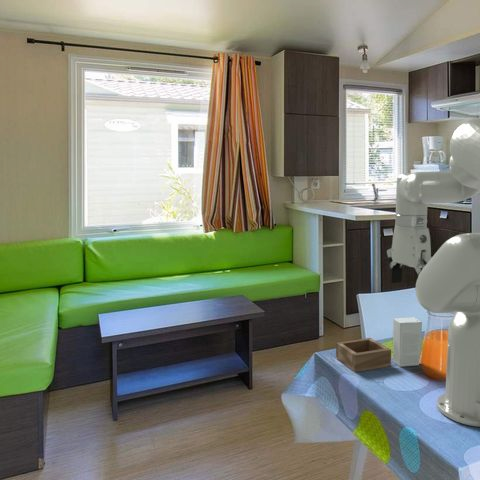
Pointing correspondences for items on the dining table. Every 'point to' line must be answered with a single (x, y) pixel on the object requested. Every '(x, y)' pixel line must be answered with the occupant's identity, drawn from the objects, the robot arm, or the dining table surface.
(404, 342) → the skincare box
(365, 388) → the dining table surface
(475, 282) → the robot arm
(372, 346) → the small open wooden box
